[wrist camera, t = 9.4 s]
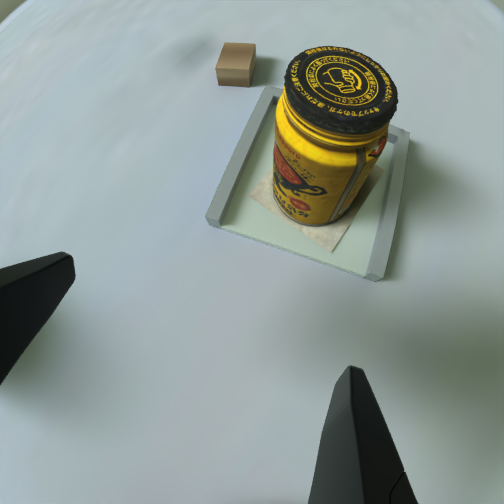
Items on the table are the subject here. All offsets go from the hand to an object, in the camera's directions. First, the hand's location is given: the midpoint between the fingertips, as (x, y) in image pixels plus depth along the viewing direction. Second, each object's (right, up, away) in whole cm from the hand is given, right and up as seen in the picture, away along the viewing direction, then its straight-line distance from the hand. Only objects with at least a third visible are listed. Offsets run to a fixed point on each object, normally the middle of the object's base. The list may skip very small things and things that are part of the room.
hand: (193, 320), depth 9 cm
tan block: (0, +19, +19) cm, 27 cm away
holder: (+7, +7, +16) cm, 18 cm away
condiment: (+7, +7, +15) cm, 18 cm away
